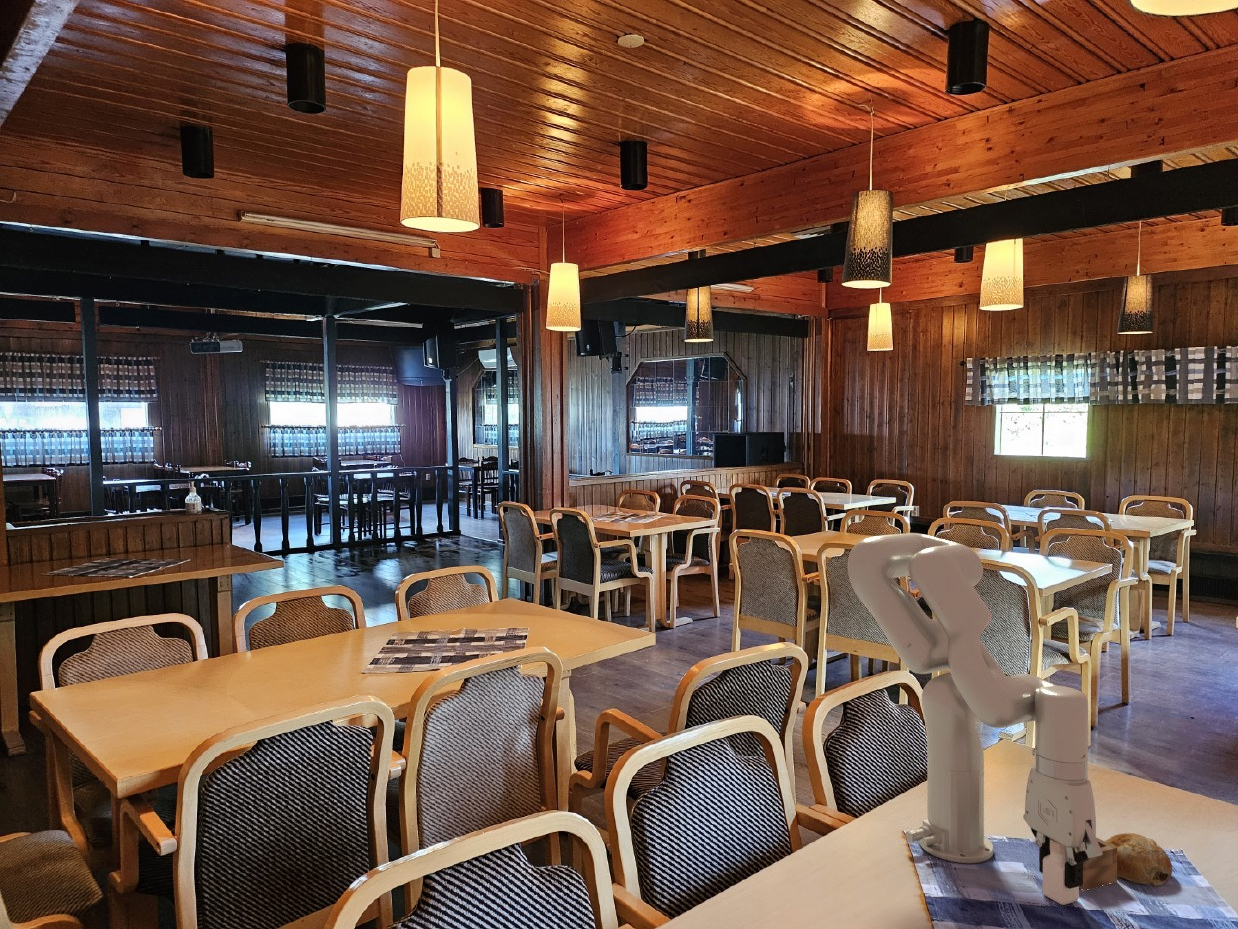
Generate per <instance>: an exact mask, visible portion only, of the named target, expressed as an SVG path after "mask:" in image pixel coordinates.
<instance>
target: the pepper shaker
mask: <svg viewBox="0 0 1238 929" xmlns="http://www.w3.org/2000/svg"><path fill="white" fill-rule="evenodd" d="M1065 862H1068V857H1067V851H1066V846H1064V845H1062V844H1060V843H1058V842H1056V841H1055V840H1053V839H1051V838H1050V855H1047V856H1046V857H1044V859H1043V873H1042V893H1043V895H1044V896H1045V897H1047V898H1049V899H1050V900H1052V901H1054V902H1055V903H1057V904H1060V905H1064V906H1065V905H1068V904H1072V903H1074V901H1075V902H1078V900H1079V898H1080V889H1079V887H1075V888H1071V889H1068V888H1067V887H1065Z"/></svg>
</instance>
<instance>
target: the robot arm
mask: <svg viewBox="0 0 1238 929" xmlns="http://www.w3.org/2000/svg"><path fill="white" fill-rule="evenodd" d="M983 566H984V565H983V562H982V560H981V558H980V556H979V555H978V554H977V553H976V551H975V550H973V549H972V548H970V547H969V546H967V545H965V544H962V543H959V542H955V541H950V540H948V539H943V538H939V537H935V536H932V535H928V534H923V533H917V532H906V533H896V534H883V535H875V536H871V537H866V538H864V539H862V540H860V541H858V542H857V543H855V544H854V546H853V547H852V549H851V550H850V552H849V554H848V559H847V575H848V578H849V582H850V585H851V587H852V589H853V591H854V592H855V595H856V596H857V598H858V599H859V601H860V602H862V604H863V605H864V607H866V609H867V610H868V611H869V612H870V614H871V615H872V617H873V618H874V619H875V621H876V623H877V624H878V626H879V627H880V630H882V632H883V634H884V635H885V637H886V639H887V640H888V642H889V643H890V645H891V646H892V648H893V649H894V652H896V654H897V655H898V657H899V659H900V660H901V662H902V663H903V664H904V666H905V667H906V668H907V669H908V670H909V671H910V672H912V673H914V674H920V675H926V674H932V673H938V672H942V671H946V670H947V671H948V672H946V673H942V674H939V675H937V676H934V677H932V678H931V679H930V680H929V681H928V682H927V683H926V684H925V686H924V687H923V689H922V693H921V707H922V708H921V709H922V712H923V718H924V723H925V729H926V731H925V732H926V745H927V747H926V751H927V752H926V753H927V754H926V757H927V765H926V766H927V782H926V783H927V786H926V787H927V793H926V794H927V798H926V799H927V800H926V801H927V807H926V808H927V818H926V819H922V826H920V827H919V828H918V829H911V830H907V831H905V838H906V840H907V842H908V843H916V842H918V843H919V845H920V846H921V848H922V849H923V850H924V851H926V852H927V853H929V854H931V856H934V857H937V858H939V859H942V860H944V861H948V862H953V863H960V864H978V863H983V862H985V861H988V860H990V859H991V858H992V857H993V855H994V850H995V848H994V845H993V843H992V841H991V840H990V839H989V838H988V837H987V836H986V835H985V757H984V756H985V754H984V747H983V743H982V741H981V738H980V736H979V734H978V732H977V724H981V723H983V724H985V725H986V726H988V727H991V728H995V729H1004V728H1008V727H1012V726H1014V725H1019V724H1022V723H1029V722H1034V748H1033V749H1032V750H1031V754H1032V756H1034V765H1032V766H1031V767H1030V770H1029V774H1028V777H1027V783H1026V791H1025V802H1024V814H1023V816H1022V818H1023V821H1024V822H1025V823H1026V824H1027V825H1028V827H1029V828H1030V831H1031V832H1032V834H1033V836H1034V838H1035V845H1036V847H1038V849H1039V851H1038V853H1039V854H1038V855H1039V856H1038V857H1039V858H1038V859H1039V862H1038V865H1039V866H1038V868H1039V869H1038V870H1039V871H1038V872H1040V873H1041V874H1043V859H1044V857H1046V856H1047V855H1050V838H1051V839H1053V840H1055V841H1056V842H1058V843H1060V844H1062V845H1064V846H1066V851H1067V857H1068V862H1065V887H1067V888H1068V889H1071V888H1075V887H1079V886H1082V885H1083V863H1085V862H1087V860H1089V859H1091V858H1093V857H1097V856H1101V855H1102V850H1101V848H1100V846H1099V844H1098V842H1097V840H1096V837H1097V836H1096V834H1097V818H1096V817H1097V816H1096V805H1095V798H1094V792H1093V786H1092V783H1091V782H1092V781H1090V780H1089V701H1088V697H1087V696H1086V695H1085V693H1083V692H1082V690H1080V689H1076V688H1073V687H1069V686H1063V685H1057V684H1055V683H1052V682H1050V681H1047V680H1045V679H1044V678H1042V677H1039V676H1037V675H1033V674H1029V673H1020V674H1015V675H1011V676H1006V674H1005V673H1004V671H1003V670H1002V668H1001V667H1000V666H999V664H998V663H997V661H996V660H995V658H994V657H993V656H992V654H991V653H990V651H989V650H988V649H987V647H986V646H985V645H984V643H983V642H982V641H981V636H982V634H983V632H984V630H986V628H987V627H988V626H989V625H990V623H991V621H992V617H993V615H992V612H991V611H990V609H989V608H988V606H987V605H986V603H985V602H984V600H983V599H982V597H980V595H979V593H978V592H977V590H976V589H975V586H976V585H978V584H979V583H980V582H981V580H982V578H983V574H984V567H983ZM904 577H910V579H911V580H912V582H913V584H914V585H915V587H916V588H917V590H918V591H919V594H920V595H921V596H922V598H923V599H924V601H925V603H926V604H927V607H929V609H930V610H931V611H930V612H932V614H933V616H934V618H936V619H933V618H930V617H929V616H928V615H927V614H926V612H925V611H924V610H923V609H922V608H921V606H920V604H919V602H917V599H915V598H914V596H913V594H911V593H910V592H909V591H907V589H905V588H904V587H902V586H900V585H899V584H898V583H896V581H894V578H904ZM1085 843H1086V845H1087V850H1086V848H1085ZM1076 847H1077V851H1078V853H1077V854H1076V853H1075V848H1076Z"/></svg>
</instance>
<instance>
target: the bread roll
mask: <svg viewBox="0 0 1238 929" xmlns="http://www.w3.org/2000/svg"><path fill="white" fill-rule="evenodd" d="M1104 841H1105V842H1107V843H1109V844H1111V845H1113V846H1115V847H1117V876H1118V877H1117V878H1119V877H1121V879H1124V880H1127V881H1128V882H1132V883H1135V884H1138V883H1139V885H1145V886H1154V887H1159V886H1162V885H1164V883H1166V882H1167V881H1168V880H1169V878H1171V876H1172V875H1173V865H1172V861H1171V859H1170V857H1169V855H1168V854H1167V853H1166V851H1165V850H1164V849H1163V848H1162V847H1161V846H1160V845H1159V844H1157V842H1156V841H1155V840H1154V839H1152V838H1150V837H1149V838H1148V837H1146V836H1144V835H1140V834H1138V833H1132V832H1131V833H1130V832H1127V833H1126V832H1125V833H1118V834H1115V835H1113V836H1111V837H1110V838H1108V839H1106V840H1104Z"/></svg>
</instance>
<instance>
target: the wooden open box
mask: <svg viewBox="0 0 1238 929" xmlns="http://www.w3.org/2000/svg"><path fill="white" fill-rule="evenodd" d="M1096 840H1097V842H1098V844H1099V846H1100V848H1101V850H1102V855H1101V856H1097V857H1093V858H1091V859H1089V860H1087V862H1085V863H1083V885H1082V886H1079V888H1080V889H1079V890H1081V889H1083V890H1086V891H1088V890H1087V889H1090V890H1094V889H1097V888H1096V887H1098V888H1101V887H1100V886H1102V885H1106V886H1108V885H1107V884H1109V883H1113V884H1117V883H1118V877H1117V847H1115V846H1113V845H1111V844H1109V843H1107V842H1105V841H1106V840H1103V839H1101V838H1098V837H1097V836H1096ZM1085 848H1086V850H1087V845H1086V843H1085ZM1075 853H1076V854H1077V853H1078V851H1077V847H1076V848H1075ZM1102 887H1103V886H1102ZM1093 888H1094V889H1093ZM1083 890H1082V891H1083Z"/></svg>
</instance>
